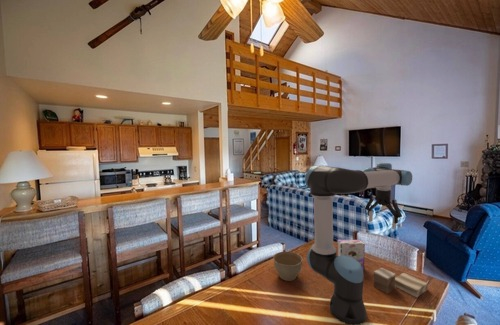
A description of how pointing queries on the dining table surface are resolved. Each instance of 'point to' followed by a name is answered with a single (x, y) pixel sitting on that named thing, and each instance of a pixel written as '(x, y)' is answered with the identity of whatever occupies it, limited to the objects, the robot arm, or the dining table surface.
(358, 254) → the candy box
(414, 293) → the riser block
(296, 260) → the planter bowl
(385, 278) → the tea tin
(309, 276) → the dining table surface
